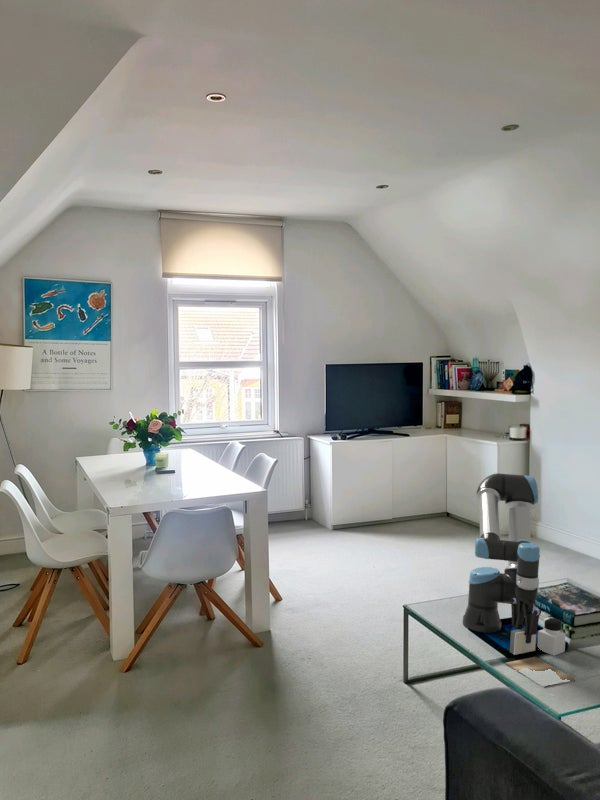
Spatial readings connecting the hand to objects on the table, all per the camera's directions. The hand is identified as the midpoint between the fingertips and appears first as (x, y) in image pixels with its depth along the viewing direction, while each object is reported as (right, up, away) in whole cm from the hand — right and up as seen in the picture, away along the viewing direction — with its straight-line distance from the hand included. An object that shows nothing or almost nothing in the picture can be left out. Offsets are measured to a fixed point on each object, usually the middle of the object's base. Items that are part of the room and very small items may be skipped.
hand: (522, 648), depth 237 cm
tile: (0, -1, 0) cm, 1 cm away
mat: (+1, -3, -13) cm, 14 cm away
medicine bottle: (+12, -3, +5) cm, 14 cm away
